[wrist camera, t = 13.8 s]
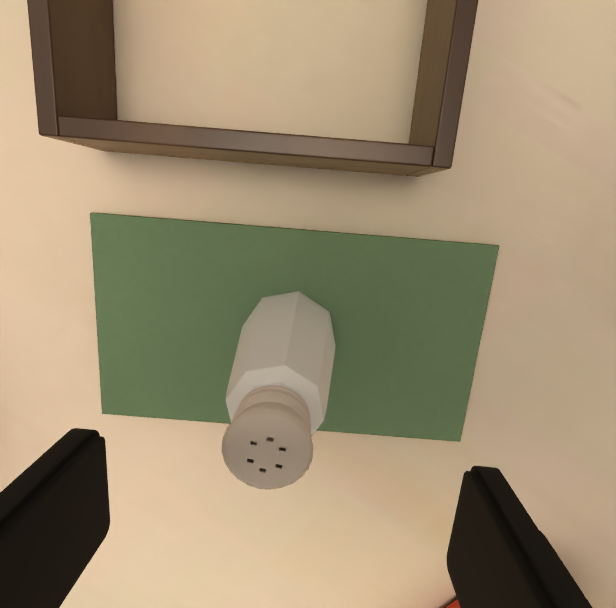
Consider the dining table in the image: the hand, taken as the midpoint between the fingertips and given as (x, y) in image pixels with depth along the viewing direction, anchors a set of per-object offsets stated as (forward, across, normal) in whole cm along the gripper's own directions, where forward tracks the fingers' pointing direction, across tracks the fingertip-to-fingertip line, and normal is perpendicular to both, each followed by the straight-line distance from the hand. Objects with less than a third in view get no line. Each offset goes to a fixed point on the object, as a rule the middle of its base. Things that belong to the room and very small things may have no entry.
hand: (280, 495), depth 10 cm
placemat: (+13, +1, 0) cm, 13 cm away
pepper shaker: (+13, +1, 0) cm, 13 cm away
